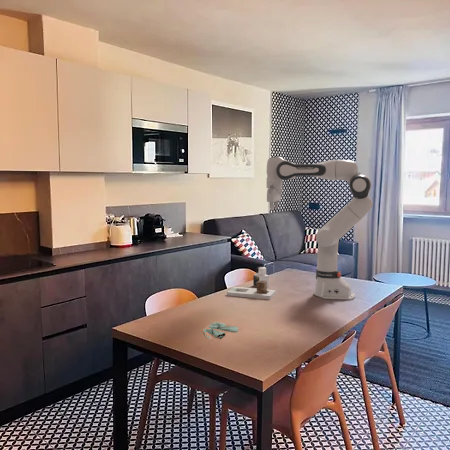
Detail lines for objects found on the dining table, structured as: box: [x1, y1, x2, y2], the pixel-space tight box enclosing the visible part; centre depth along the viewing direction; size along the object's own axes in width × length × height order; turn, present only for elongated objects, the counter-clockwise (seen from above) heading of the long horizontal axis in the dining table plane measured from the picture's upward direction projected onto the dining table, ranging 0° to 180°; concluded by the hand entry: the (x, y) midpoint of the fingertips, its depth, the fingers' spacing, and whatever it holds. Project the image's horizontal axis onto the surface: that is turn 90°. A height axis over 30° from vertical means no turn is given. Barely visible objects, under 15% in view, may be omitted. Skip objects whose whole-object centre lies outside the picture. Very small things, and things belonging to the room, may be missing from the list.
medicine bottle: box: [252, 266, 270, 288], centre depth 257 cm, size 7×7×12 cm
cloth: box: [203, 321, 239, 340], centre depth 180 cm, size 20×22×2 cm
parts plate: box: [226, 286, 277, 301], centre depth 239 cm, size 25×13×2 cm, turn 69°
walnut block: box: [256, 281, 268, 294], centre depth 236 cm, size 4×4×8 cm
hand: (274, 209), depth 243 cm, fingers open, 8 cm apart
